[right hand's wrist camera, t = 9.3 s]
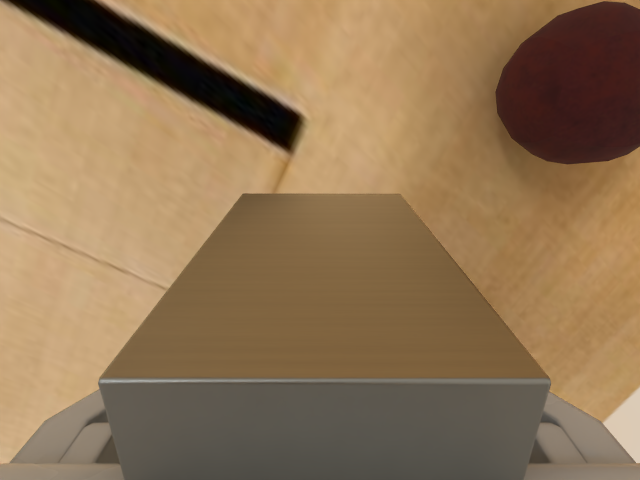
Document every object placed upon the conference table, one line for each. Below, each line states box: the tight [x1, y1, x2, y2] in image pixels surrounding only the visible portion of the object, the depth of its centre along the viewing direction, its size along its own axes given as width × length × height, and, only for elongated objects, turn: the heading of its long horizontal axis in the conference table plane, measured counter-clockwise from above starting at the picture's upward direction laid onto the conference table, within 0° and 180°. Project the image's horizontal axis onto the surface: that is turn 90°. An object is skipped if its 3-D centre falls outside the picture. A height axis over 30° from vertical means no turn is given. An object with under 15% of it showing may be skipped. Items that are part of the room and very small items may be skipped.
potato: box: [496, 1, 640, 164], centre depth 19 cm, size 7×8×7 cm
